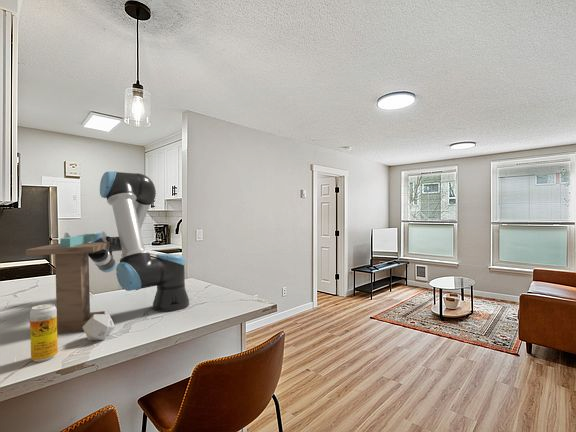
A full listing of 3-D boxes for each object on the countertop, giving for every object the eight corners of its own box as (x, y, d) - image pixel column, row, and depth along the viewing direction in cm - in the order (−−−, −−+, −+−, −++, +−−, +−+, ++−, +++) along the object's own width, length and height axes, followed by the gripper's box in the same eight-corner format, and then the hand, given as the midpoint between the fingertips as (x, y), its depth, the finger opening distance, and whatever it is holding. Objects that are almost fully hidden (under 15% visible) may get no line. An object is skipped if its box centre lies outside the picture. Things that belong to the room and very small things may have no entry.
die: (91, 348, 97) (112, 320, 100) (71, 333, 99) (92, 306, 101) (105, 346, 105) (124, 321, 108) (86, 333, 106) (106, 308, 109)
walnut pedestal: (55, 319, 123) (53, 243, 123) (111, 313, 128) (109, 241, 128) (28, 338, 104) (25, 249, 103) (95, 331, 109) (93, 246, 109)
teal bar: (87, 240, 134) (87, 233, 134) (95, 240, 135) (94, 233, 135) (60, 247, 109) (60, 238, 109) (70, 246, 110) (69, 238, 110)
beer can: (33, 365, 85) (31, 311, 85) (29, 358, 89) (27, 306, 89) (60, 357, 90) (58, 305, 90) (55, 351, 94) (53, 302, 94)
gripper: (127, 260, 147) (116, 241, 129) (67, 263, 140) (47, 244, 122) (129, 246, 150) (118, 226, 132) (70, 248, 144) (51, 227, 126)
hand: (84, 234), depth 127 cm, fingers open, 13 cm apart
